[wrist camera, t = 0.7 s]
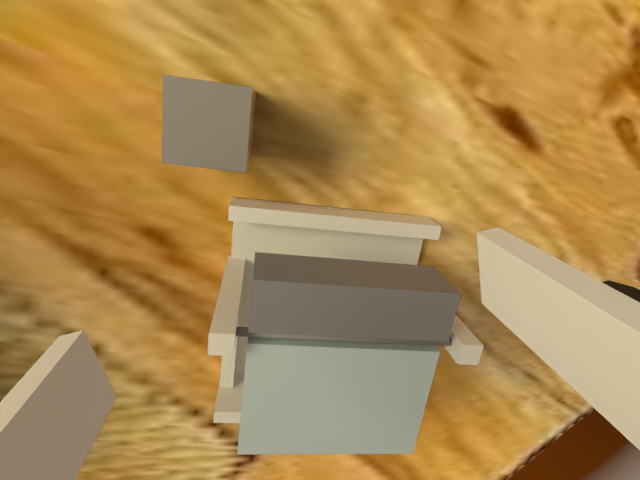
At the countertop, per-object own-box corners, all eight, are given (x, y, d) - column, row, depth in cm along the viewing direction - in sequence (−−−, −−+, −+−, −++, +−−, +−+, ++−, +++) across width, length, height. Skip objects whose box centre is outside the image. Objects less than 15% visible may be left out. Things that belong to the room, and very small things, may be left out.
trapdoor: (240, 413, 31) (236, 461, 27) (255, 251, 27) (252, 279, 23) (396, 415, 33) (415, 460, 29) (432, 266, 29) (461, 294, 25)
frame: (219, 392, 39) (199, 516, 27) (232, 196, 33) (213, 248, 21) (386, 396, 42) (433, 509, 30) (427, 216, 36) (506, 272, 24)
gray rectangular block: (187, 148, 31) (162, 163, 24) (189, 81, 30) (163, 74, 22) (250, 156, 32) (246, 172, 24) (255, 91, 30) (252, 87, 23)
